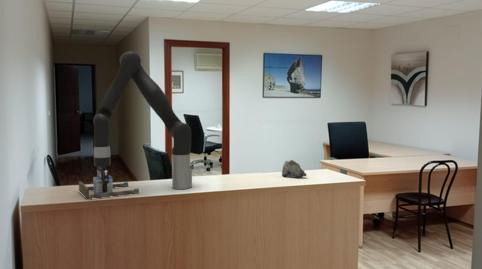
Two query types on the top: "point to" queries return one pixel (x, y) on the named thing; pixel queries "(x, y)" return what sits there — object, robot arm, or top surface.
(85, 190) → the bay
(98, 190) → the medicine box
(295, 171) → the mineral rock
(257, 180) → the top surface
